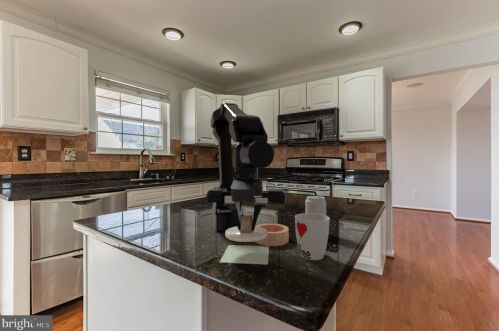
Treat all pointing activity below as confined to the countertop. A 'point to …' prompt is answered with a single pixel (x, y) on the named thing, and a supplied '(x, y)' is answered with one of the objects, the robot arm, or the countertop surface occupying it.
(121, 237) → the countertop surface
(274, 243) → the bowl
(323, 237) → the cup
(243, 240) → the lid
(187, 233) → the countertop surface
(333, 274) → the countertop surface
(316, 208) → the beverage can
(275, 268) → the countertop surface
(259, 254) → the mat
